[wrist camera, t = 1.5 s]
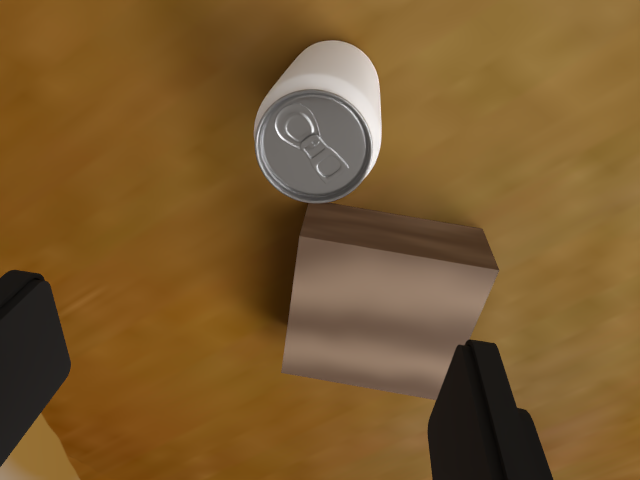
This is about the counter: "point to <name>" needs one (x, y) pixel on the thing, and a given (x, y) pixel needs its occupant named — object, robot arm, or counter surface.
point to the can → (320, 124)
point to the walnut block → (384, 298)
